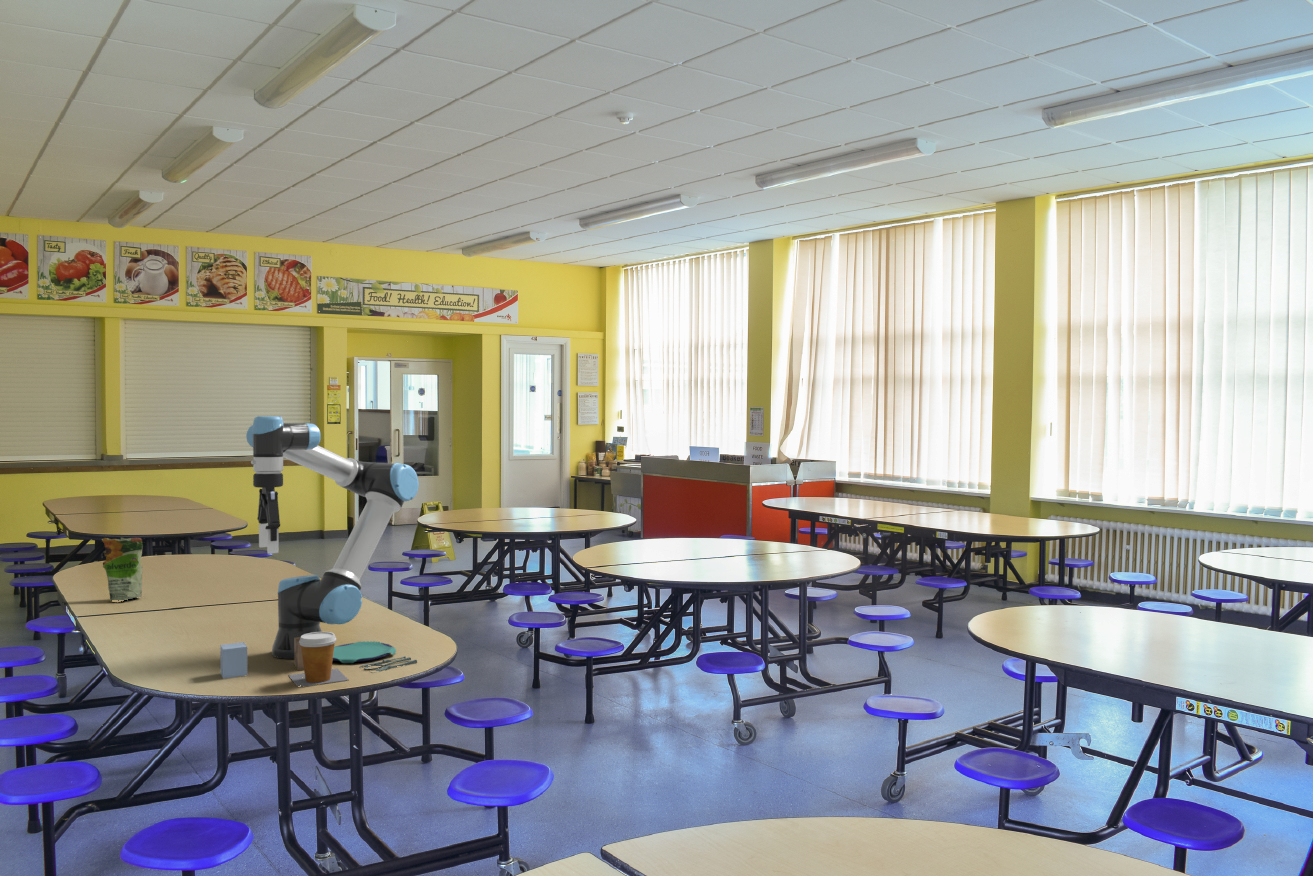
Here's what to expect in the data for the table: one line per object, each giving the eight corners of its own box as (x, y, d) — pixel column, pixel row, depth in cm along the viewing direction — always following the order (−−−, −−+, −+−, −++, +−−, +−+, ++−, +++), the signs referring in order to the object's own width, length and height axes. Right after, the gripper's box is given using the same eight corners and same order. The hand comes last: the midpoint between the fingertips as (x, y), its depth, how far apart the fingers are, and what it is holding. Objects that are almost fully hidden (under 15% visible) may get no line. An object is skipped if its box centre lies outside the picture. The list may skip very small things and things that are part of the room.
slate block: (220, 673, 253) (220, 644, 253) (244, 670, 256) (243, 642, 256) (223, 678, 248) (223, 649, 248) (247, 675, 251) (247, 646, 251)
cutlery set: (373, 644, 286) (373, 637, 286) (424, 664, 265) (424, 656, 265) (312, 656, 272) (312, 649, 272) (360, 678, 251) (360, 670, 251)
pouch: (147, 599, 355) (146, 535, 354) (115, 605, 345) (114, 539, 344) (131, 596, 361) (131, 533, 360) (99, 601, 351) (99, 537, 350)
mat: (288, 676, 250) (288, 675, 250) (337, 669, 257) (337, 668, 257) (297, 687, 239) (297, 687, 239) (348, 680, 246) (348, 679, 246)
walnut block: (294, 665, 261) (294, 637, 261) (316, 662, 264) (316, 635, 264) (298, 670, 256) (298, 642, 256) (320, 667, 259) (320, 639, 259)
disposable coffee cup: (342, 674, 251) (341, 631, 251) (328, 685, 241) (328, 639, 241) (307, 674, 251) (307, 631, 251) (293, 684, 242) (292, 639, 241)
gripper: (246, 470, 258) (246, 545, 258) (260, 475, 237) (261, 557, 237) (274, 469, 262) (275, 543, 262) (291, 474, 240) (292, 554, 241)
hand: (268, 550), depth 249 cm, fingers open, 13 cm apart
